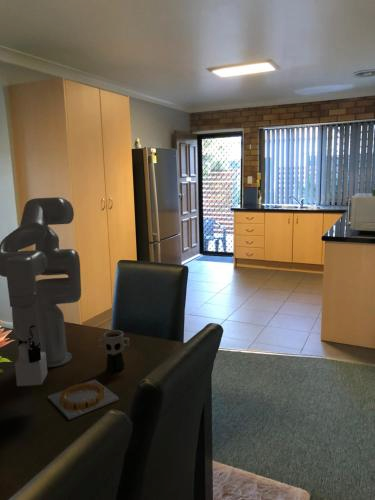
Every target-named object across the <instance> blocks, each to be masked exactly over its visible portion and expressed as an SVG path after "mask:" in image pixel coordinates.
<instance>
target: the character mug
mask: <svg viewBox="0 0 375 500" xmlns="http://www.w3.org/2000/svg"><path fill="white" fill-rule="evenodd" d="M102 337H103V338H101V339H98V340H97V341H98V342H97V343H98V344H97V345H98V348H99V349H104V352H105V353H106V354H107V355H106V356H107V357H106V369H107V370H108V371H111V372H112V371H114V369H115V371H120V370H122V369H124V367H125V362H124V361H125V360H124V356H123V353H122V352H123V351H125V347H130V337H124V332H123V331H122V330H118V329H117V330H110V331H109V330H108V331H105V332H104V333H103V334H102ZM125 341H126V343H125ZM102 343H103V344H102Z"/></svg>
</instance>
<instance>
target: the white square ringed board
mask: <svg viewBox="0 0 375 500" xmlns="http://www.w3.org/2000/svg"><path fill="white" fill-rule="evenodd" d="M47 397H48V398H47V399H48V400H49V401H50V402H51V404H53V405H54V407H56V408H57V409H58V411H60V412H61V413H62V415H63V416H64V417H66V418H67V420H68V421H70V420H72V419H75V418H78V417H80V416H83V415H85V414H88V413H90V412H92V411H95V410H98V409H101V408H102V407H105V406H107V405H110V404H112V403H115V402H117V401H119V400H120V399H119V396H118V395H116V394H115V393H113V392H112V391H111V390H110V389H108V388H107V387H106V386H105V385H103V384H102V383H100V381H98V380H97V379H96V378H95V379H92V380H89V381H86V382H82V383H81V382H80V383H77V384H75V385H72V386H71V385H70V386H69V387H67V388H66V389H63V390H60V391H57V392H55V393H52V394H50V395H47Z"/></svg>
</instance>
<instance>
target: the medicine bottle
mask: <svg viewBox="0 0 375 500" xmlns="http://www.w3.org/2000/svg"><path fill="white" fill-rule="evenodd" d="M32 342H33V341H30V343H31V344H32ZM39 343H40V342H39ZM39 345H40V344H39ZM17 349H18V358H17V360H16V361H15V363H14V373H15V380H16V386H17V387H26V386H39V385H43V382H44V380H45V379H46V377H47V375H48V367H47V362H46V353H45V352H41V347H40V354H41V360H39V361H36V362H33V363H30V362H29V356H28V349H29V347H28V343H27V341H25V342H21V343H19V342H18V346H17Z"/></svg>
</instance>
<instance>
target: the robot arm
mask: <svg viewBox="0 0 375 500" xmlns="http://www.w3.org/2000/svg"><path fill="white" fill-rule="evenodd" d="M74 216H75V213H74V207H73V205H72V203H71V202H70V200H67V199H65V198H63V197H58V196H57V197H38V198H36V197H35V198H32V199H29V200H28V201H26V203H25V204H24V208H23V212H22V215H21V221H20V223H19V224H20V225H19V227H18V228H16V229H14V230H13V231H12V232H9V234H7V236H5V237H4V238H3V239H2V240H1V241H0V276H1V277H5V278H6V281H7V292H8V300H9V306H10V308H11V318H12V330H13V331H12V332H13V334H14V335H15V336H16V337H17V339H18V344H19V343H21V342H25V341H27V343H28V347H29V349H28V356H29V362H30V363H33V362H36V361H39V360H41V354H40V347H41V352H45V353H46V362H47V368H55V367H60V366H63V365H65V364H67V363H69V362H70V361H71V360H72V353H71V352H69V351H68V350H67V338H66V327H65V317H64V313H63V311H62V309H61V308H60V307H59V306H58V305H64V304H74V303H77V302H79V301H80V299H81V297H82V280H81V278H82V277H81V276H82V275H81V259H80V255H79V253H78V251H77V250H75V249H72V248H65V249H64V248H62V249H60V239H59V236H58V234H57V233H56V232H55V231H54V229H52V228H51V227H50V226H52V225H56V226H58V225H70V224H71V223H72V222H73V220H74ZM34 245H35V248H34V249H35V250H34V249H33V250H23V249H25V248H28V247H31V246H34ZM63 275H65V276H68V277H55V278H54V277H53V278H42V279H38V280H36V277H38V276H63ZM30 341H33V342H32V344H31V343H30ZM39 342H40V343H39ZM39 344H40V345H39Z"/></svg>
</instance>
